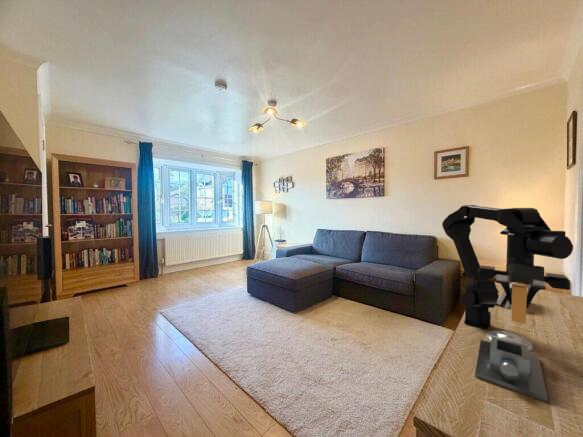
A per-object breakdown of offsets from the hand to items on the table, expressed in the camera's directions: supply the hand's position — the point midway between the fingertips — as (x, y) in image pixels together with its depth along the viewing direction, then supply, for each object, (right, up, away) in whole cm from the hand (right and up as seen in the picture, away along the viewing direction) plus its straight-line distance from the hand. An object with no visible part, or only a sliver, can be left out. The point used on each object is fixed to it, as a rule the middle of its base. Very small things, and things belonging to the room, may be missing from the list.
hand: (518, 306), depth 70 cm
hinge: (+27, -11, +33) cm, 44 cm away
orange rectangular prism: (0, -4, 0) cm, 4 cm away
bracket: (-11, -12, -9) cm, 18 cm away
